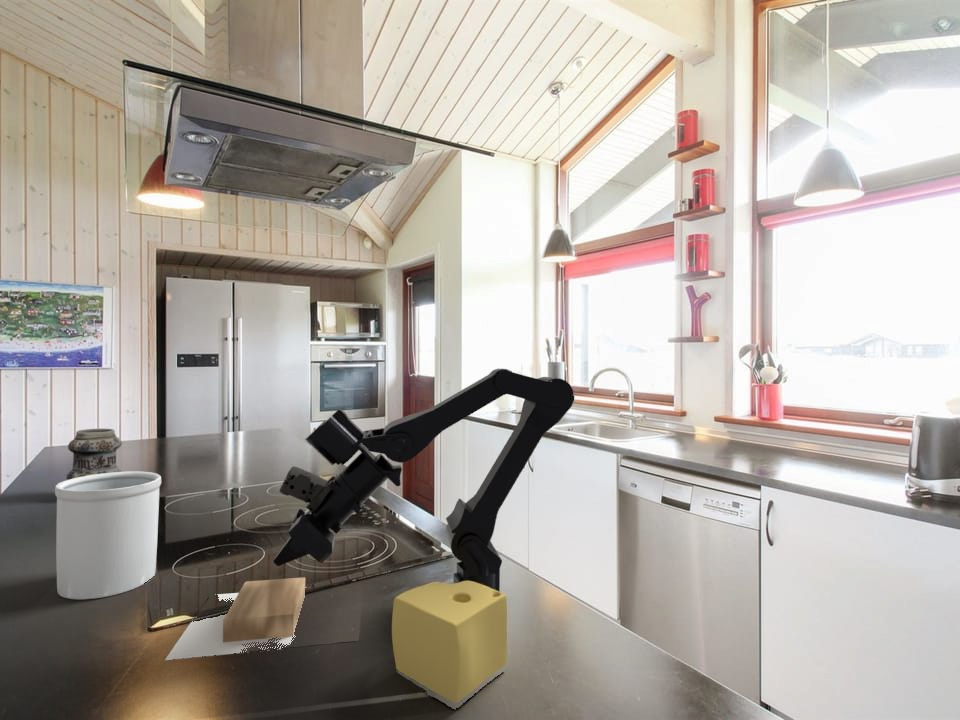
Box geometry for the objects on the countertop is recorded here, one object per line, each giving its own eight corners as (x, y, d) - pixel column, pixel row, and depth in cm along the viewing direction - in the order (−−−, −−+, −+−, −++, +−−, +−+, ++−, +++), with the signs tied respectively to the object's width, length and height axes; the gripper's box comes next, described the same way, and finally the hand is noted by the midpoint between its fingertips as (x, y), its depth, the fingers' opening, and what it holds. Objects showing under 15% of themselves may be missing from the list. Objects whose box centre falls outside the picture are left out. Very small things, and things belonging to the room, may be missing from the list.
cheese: (448, 642, 71) (448, 569, 71) (511, 673, 64) (512, 593, 64) (390, 678, 63) (390, 596, 63) (455, 718, 56) (456, 626, 56)
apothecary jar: (129, 494, 143) (129, 429, 143) (78, 504, 133) (78, 434, 133) (109, 487, 150) (109, 425, 149) (58, 497, 139) (59, 430, 139)
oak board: (305, 577, 83) (245, 581, 81) (293, 614, 71) (223, 620, 69) (305, 595, 83) (245, 600, 81) (293, 635, 71) (222, 642, 69)
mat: (363, 586, 87) (363, 583, 87) (359, 644, 70) (359, 641, 70) (209, 598, 83) (209, 594, 83) (164, 664, 65) (164, 660, 65)
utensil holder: (143, 557, 99) (144, 466, 99) (174, 579, 89) (174, 478, 89) (44, 583, 87) (45, 480, 87) (67, 611, 78) (68, 496, 78)
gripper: (321, 439, 86) (250, 508, 84) (306, 462, 68) (215, 550, 66) (369, 484, 88) (300, 553, 86) (367, 519, 69) (279, 607, 67)
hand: (275, 563), depth 76 cm, fingers closed
